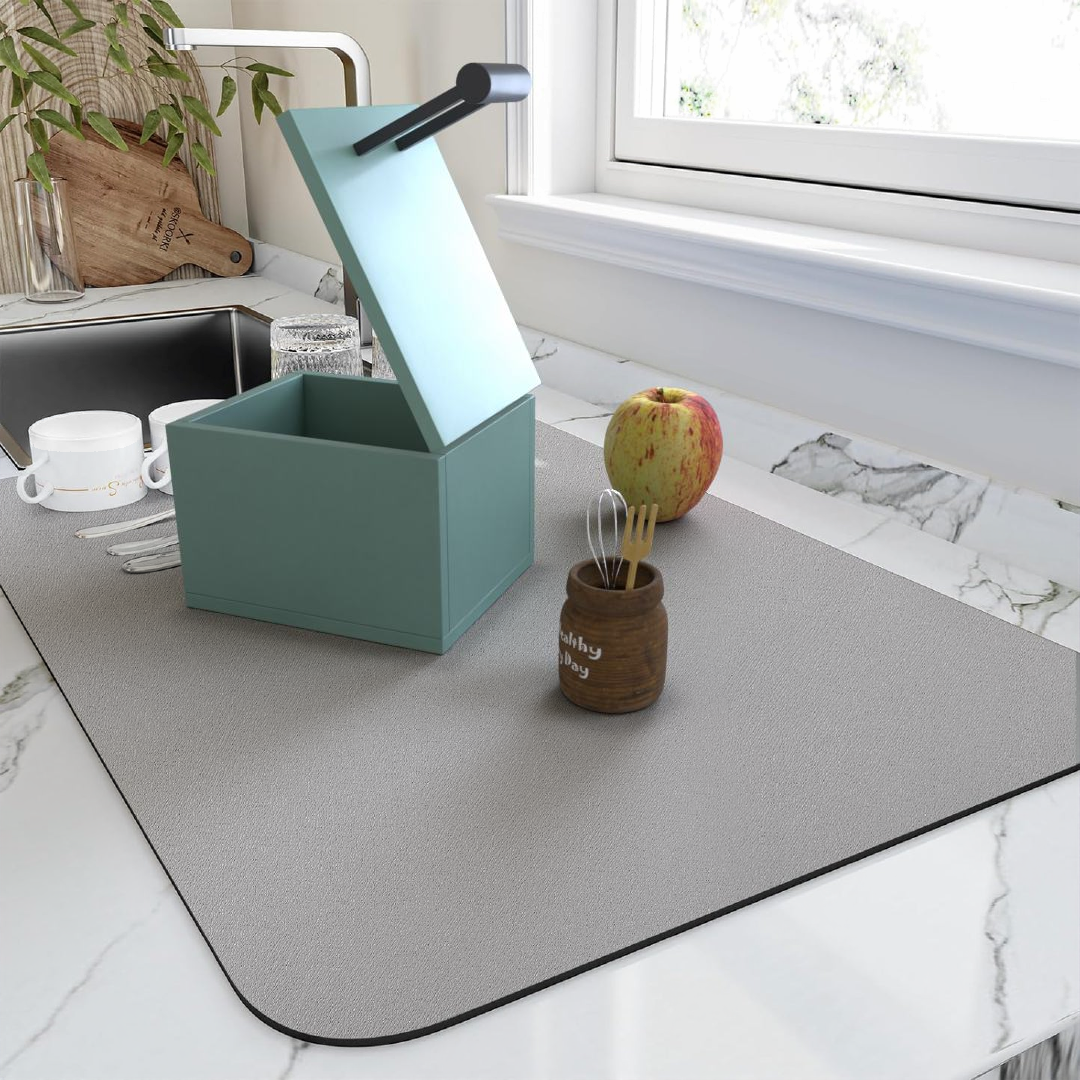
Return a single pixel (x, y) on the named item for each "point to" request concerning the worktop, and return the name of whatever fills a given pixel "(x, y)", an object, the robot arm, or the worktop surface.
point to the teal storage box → (350, 510)
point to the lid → (418, 248)
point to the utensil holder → (615, 625)
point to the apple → (663, 451)
